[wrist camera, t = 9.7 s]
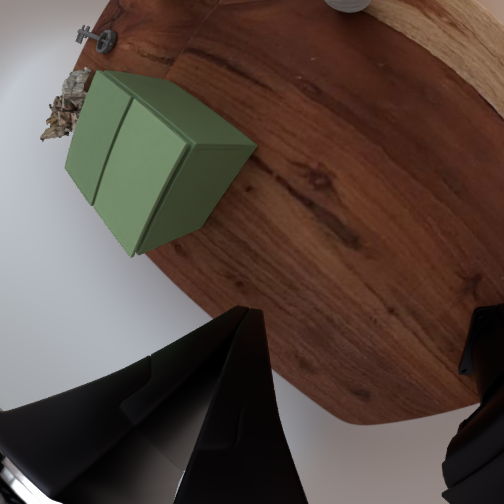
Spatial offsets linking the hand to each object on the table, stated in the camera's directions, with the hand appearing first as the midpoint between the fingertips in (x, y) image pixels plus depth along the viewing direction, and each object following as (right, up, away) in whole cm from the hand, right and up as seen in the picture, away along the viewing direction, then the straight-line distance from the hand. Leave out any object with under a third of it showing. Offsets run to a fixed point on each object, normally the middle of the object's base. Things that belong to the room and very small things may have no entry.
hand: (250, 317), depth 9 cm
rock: (-23, +24, +18) cm, 38 cm away
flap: (-7, +6, +7) cm, 12 cm away
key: (-21, +28, +15) cm, 38 cm away
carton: (-6, +11, +14) cm, 18 cm away
